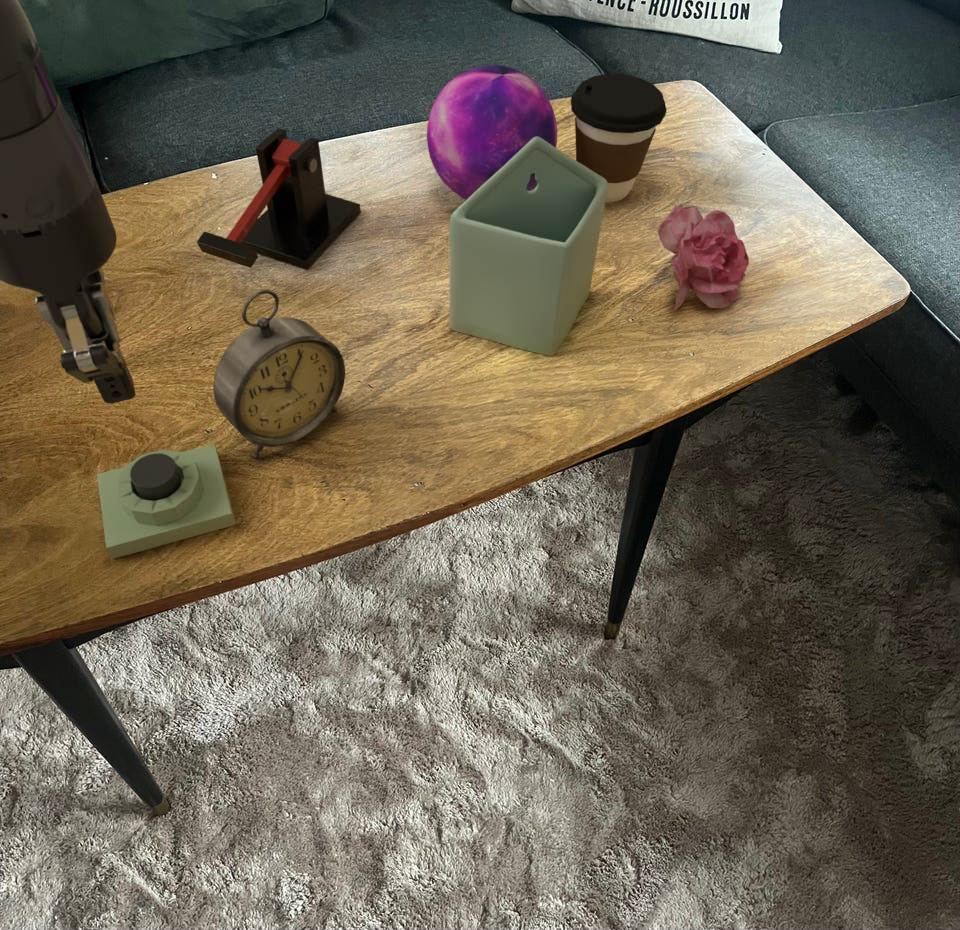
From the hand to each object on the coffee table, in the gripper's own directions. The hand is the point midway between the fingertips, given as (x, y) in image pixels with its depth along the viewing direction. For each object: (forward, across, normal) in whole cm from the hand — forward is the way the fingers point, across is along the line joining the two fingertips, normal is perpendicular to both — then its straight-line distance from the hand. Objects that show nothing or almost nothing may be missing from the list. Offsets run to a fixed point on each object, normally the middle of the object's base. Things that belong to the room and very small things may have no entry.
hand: (120, 394), depth 60 cm
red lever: (+8, -30, +16) cm, 35 cm away
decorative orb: (+14, -34, +43) cm, 57 cm away
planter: (+14, -10, +38) cm, 42 cm away
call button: (+11, 0, 0) cm, 11 cm away
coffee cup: (+14, -31, +57) cm, 66 cm away
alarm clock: (+14, -5, +11) cm, 19 cm away
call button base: (+14, 0, 0) cm, 14 cm away
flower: (+14, -10, +58) cm, 61 cm away
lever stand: (+14, -34, +20) cm, 42 cm away
